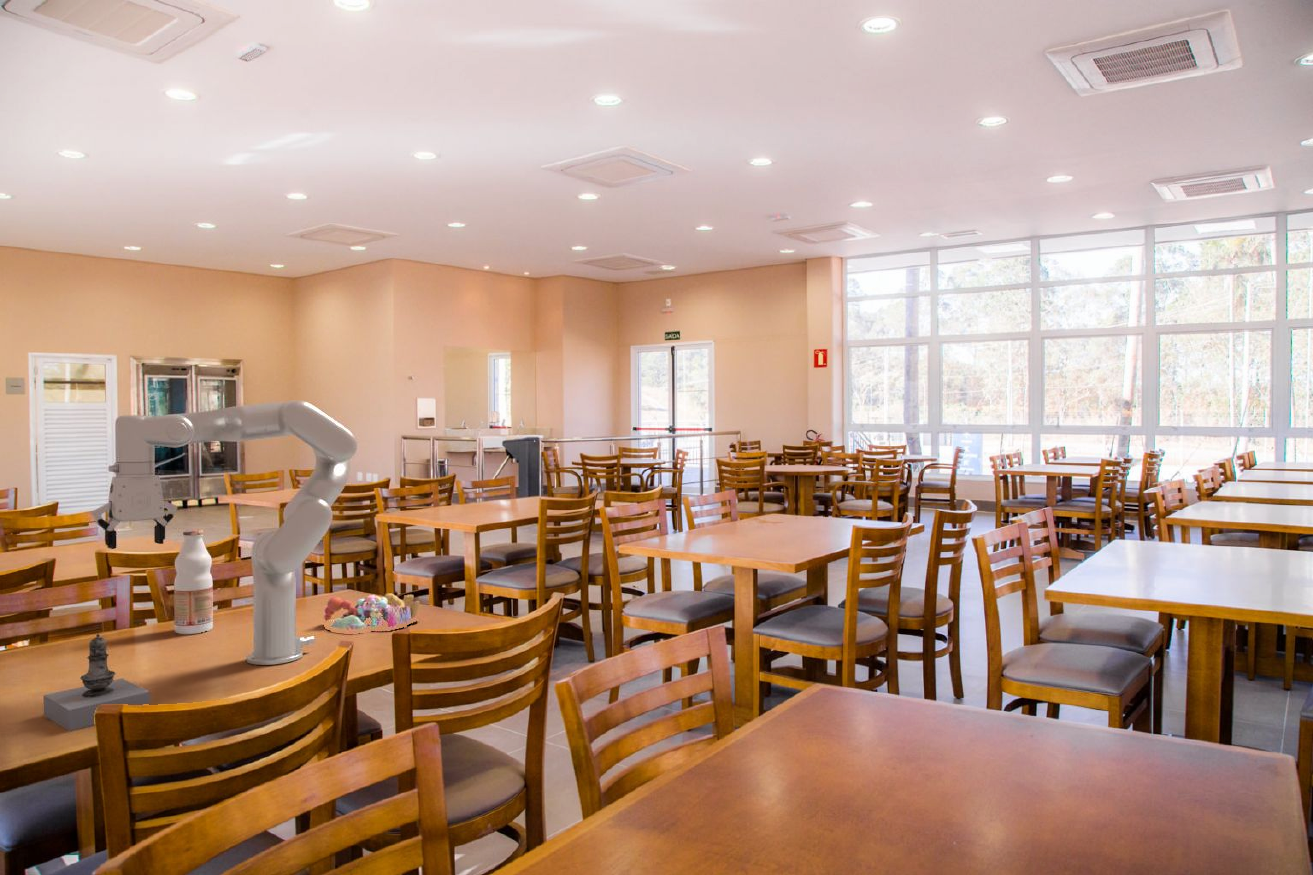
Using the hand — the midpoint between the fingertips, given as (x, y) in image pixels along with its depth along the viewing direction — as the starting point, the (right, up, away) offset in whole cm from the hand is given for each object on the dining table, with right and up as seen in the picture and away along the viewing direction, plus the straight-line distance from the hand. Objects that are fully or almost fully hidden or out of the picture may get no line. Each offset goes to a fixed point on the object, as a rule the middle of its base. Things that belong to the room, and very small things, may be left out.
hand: (135, 545), depth 191 cm
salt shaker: (+6, -27, -21) cm, 35 cm away
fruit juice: (-11, -30, +45) cm, 55 cm away
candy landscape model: (+36, -30, +53) cm, 71 cm away
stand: (+6, -31, -22) cm, 38 cm away
